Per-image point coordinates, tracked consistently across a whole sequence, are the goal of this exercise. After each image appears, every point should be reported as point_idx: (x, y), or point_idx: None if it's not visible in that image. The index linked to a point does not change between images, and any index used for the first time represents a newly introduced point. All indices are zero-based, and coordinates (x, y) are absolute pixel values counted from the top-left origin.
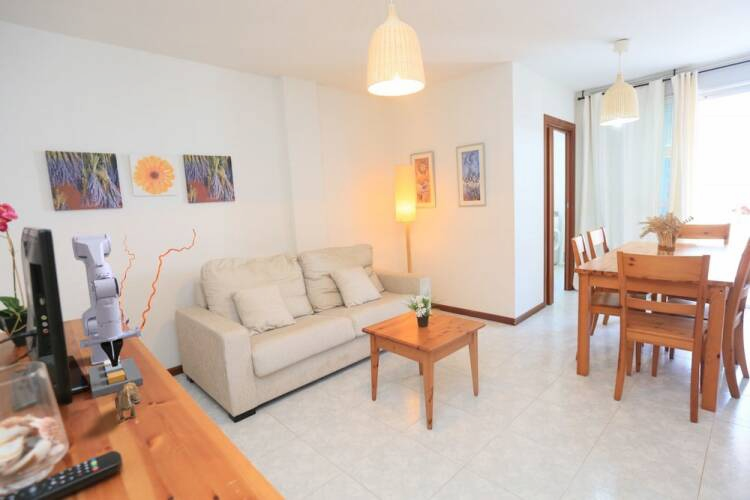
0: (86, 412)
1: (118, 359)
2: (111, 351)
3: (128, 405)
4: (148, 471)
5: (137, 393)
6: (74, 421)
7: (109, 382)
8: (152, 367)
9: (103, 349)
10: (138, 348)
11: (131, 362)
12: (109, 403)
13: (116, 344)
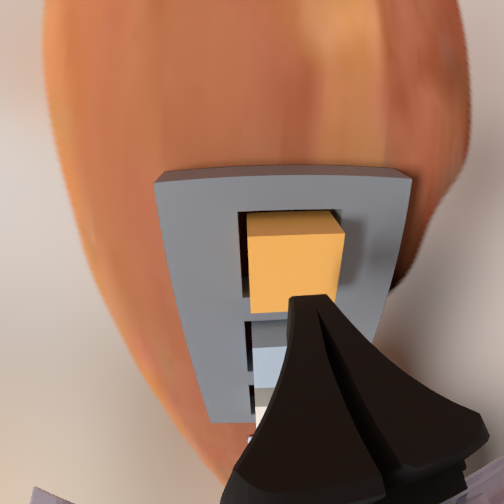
0: (422, 36)
1: (258, 419)
2: (377, 403)
3: None
4: None
5: None
6: (449, 4)
7: (333, 221)
8: (140, 341)
9: (475, 415)
10: (202, 453)
11: (213, 395)
12: (339, 40)
13: (339, 495)
